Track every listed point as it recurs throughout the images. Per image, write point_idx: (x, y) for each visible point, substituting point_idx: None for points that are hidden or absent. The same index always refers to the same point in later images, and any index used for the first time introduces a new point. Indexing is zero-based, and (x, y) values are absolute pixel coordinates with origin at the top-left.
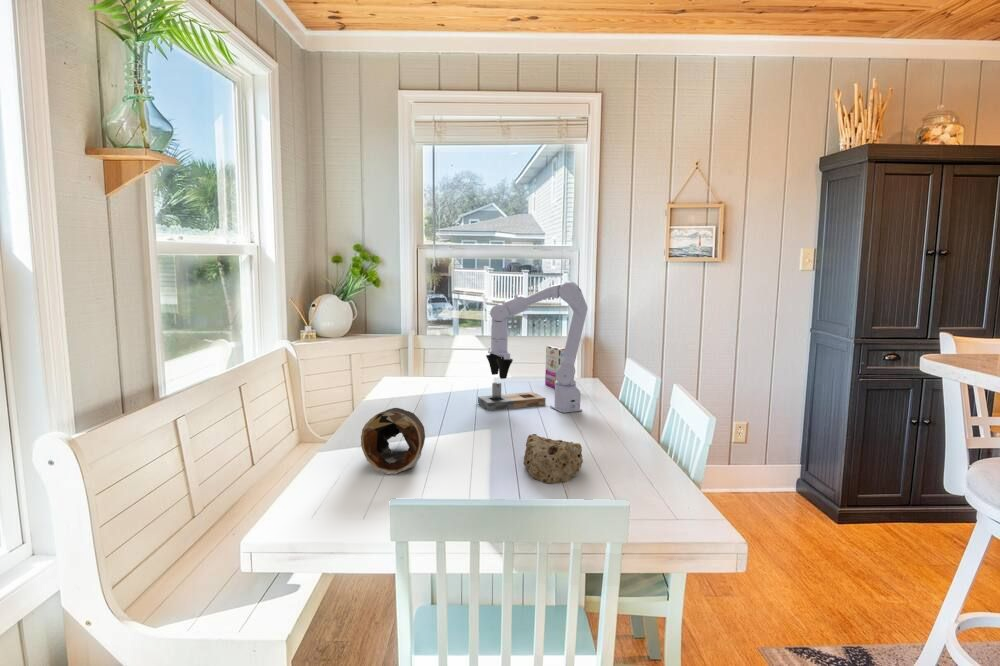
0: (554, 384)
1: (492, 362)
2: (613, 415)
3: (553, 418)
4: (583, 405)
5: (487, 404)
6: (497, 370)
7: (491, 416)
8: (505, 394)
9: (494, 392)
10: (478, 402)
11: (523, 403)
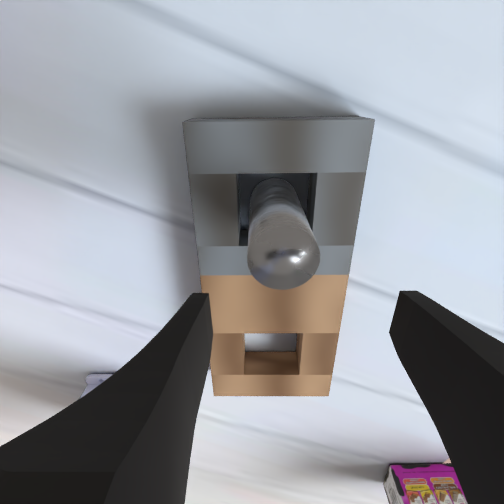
0: (422, 478)
1: (491, 402)
2: None
3: (18, 326)
4: None
5: (197, 120)
6: (407, 358)
7: (55, 84)
8: (344, 289)
9: (260, 209)
10: (352, 116)
11: None
